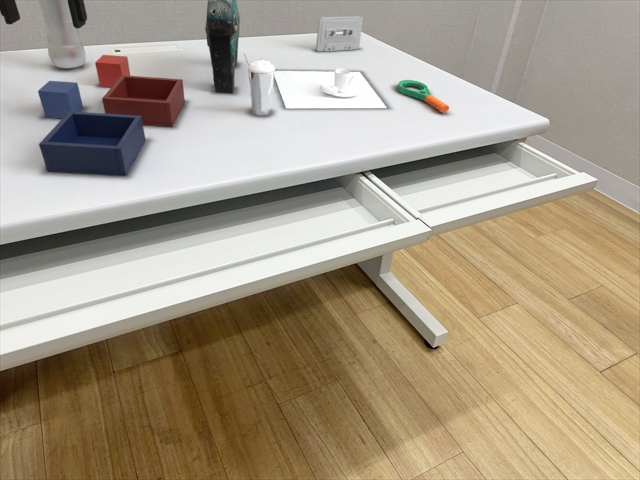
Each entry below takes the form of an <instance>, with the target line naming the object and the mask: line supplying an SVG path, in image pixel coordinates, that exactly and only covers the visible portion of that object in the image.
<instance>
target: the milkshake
mask: <svg viewBox="0 0 640 480" xmlns="http://www.w3.org/2000/svg"><path fill="white" fill-rule="evenodd" d="M243 56H244V59H245V61H246V64H247V71H248V79H249V89H250V100H251V112H252V113H251V114H253V115H254V116H259V117H265V116H268V115H270V113H271V106H272V94H273V86H274V79H275V77H274V71H276V68H275V66H274V65H273V64H272V62H271V61H269V60H265V59H263V58H262V59H260V60H254V61H251V62H250V63H249V60H248V58H247V56H246V53H243Z"/></svg>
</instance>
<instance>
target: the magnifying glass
mask: <svg viewBox="0 0 640 480" xmlns="http://www.w3.org/2000/svg"><path fill="white" fill-rule="evenodd" d="M407 87H415V88H419V90H418V89H410V88H407ZM428 87H429V86H428V85H427V84H425V83H424V82H421V81H418V80H413V79H403V80H400V81H399V82H398V84H397V90H398V91H399V92H400V93H401V94H403V95H406V96H409V97H412V98H415V99H418V100H421V101H423V102H425V103H427V104H429V105H430V106H431V107H433V108H435V109H436V110H437V111H439V112H440V113H447V112H448V111H449V110H450V106H449V105H448V104H447V103H445V102H443V101H441V100H440V99H439V98H437V97H435V96H434V95H432V94H431V92H430V89H429V88H428Z"/></svg>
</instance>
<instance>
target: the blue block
mask: <svg viewBox="0 0 640 480" xmlns="http://www.w3.org/2000/svg"><path fill="white" fill-rule="evenodd" d="M37 93H38V97H39V101H40V104H41V106H42V111H43V114H44V117H45V118H50V119H61V120H62V119H63V117H64V116H65V115H66V114H67V113H68V112H69V111H73V112H82V111H83V109H84V104H83V99H82V96H81V92H80V88H79V84H78V82H73V81H61V80H60V81H59V80H48V81H47V82H46V83H45V84H44V85H42V87H40V88H39V89H38V90H37Z"/></svg>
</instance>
